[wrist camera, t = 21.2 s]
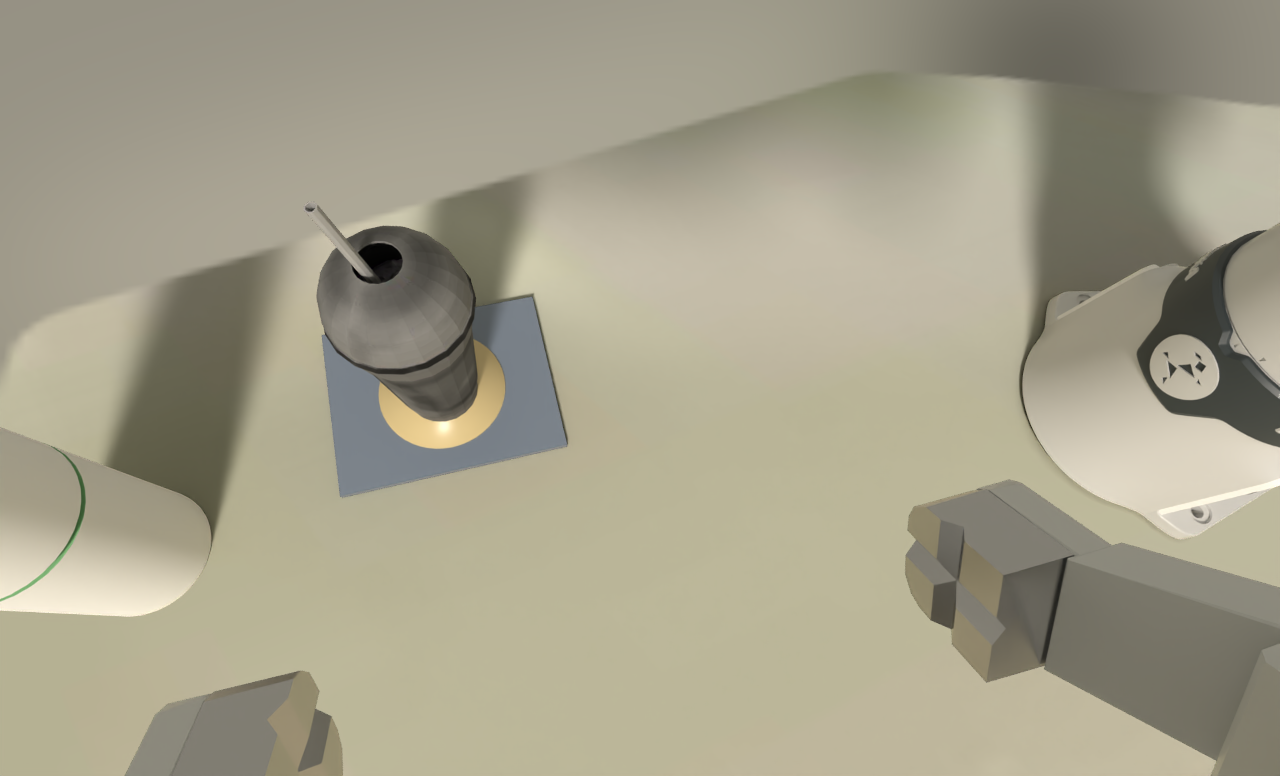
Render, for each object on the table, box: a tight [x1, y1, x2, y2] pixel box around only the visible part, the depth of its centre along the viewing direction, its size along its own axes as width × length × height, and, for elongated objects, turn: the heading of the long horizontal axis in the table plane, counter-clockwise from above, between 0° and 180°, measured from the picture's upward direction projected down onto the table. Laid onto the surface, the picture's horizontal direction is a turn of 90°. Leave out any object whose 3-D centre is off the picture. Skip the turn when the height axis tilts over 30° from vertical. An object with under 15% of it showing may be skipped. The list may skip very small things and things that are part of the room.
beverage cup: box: [304, 201, 478, 422], centre depth 33 cm, size 7×7×20 cm
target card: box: [322, 297, 567, 498], centre depth 43 cm, size 14×11×1 cm
